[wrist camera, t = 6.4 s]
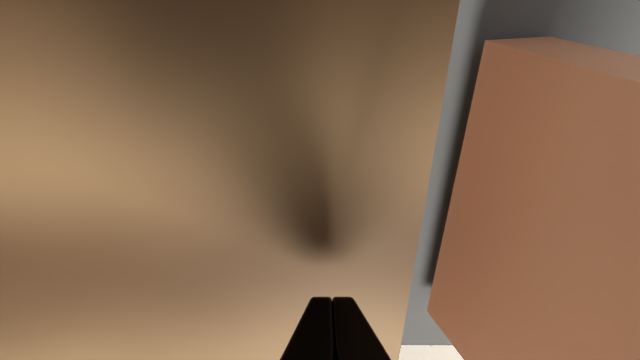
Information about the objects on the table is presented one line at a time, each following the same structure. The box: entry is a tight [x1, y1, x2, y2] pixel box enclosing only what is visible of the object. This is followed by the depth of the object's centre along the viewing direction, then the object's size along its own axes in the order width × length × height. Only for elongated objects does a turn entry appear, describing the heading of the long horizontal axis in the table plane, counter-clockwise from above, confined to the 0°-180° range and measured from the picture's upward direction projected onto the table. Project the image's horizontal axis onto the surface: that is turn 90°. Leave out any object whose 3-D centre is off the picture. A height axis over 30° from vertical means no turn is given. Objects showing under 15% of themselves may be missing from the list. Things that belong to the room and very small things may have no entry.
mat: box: [401, 0, 640, 345], centre depth 12 cm, size 14×11×1 cm
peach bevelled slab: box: [427, 36, 640, 360], centre depth 9 cm, size 9×6×2 cm
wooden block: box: [0, 0, 460, 360], centre depth 11 cm, size 16×12×4 cm
